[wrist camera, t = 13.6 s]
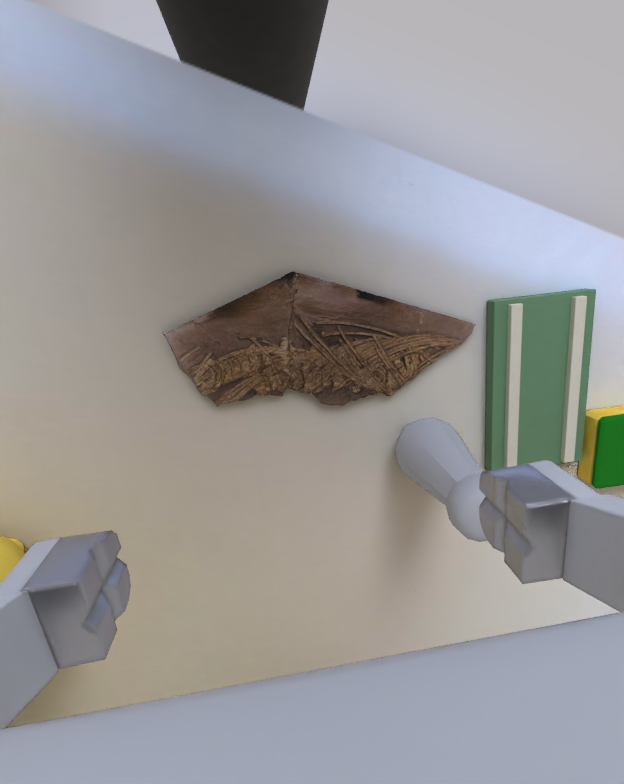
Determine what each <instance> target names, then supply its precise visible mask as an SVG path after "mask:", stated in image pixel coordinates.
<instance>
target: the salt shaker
mask: <svg viewBox="0 0 624 784" xmlns="http://www.w3.org/2000/svg"><path fill="white" fill-rule="evenodd" d="M395 453H396V457H397V460H398V463H399V466H400V469H401V470H402V471H403V472H404V473H405V474H406V475H407V476H408V477H409V478H411V479H412V480H413V481H415V482H416V483H417V484H418V485H420V486H421V487H422V488H424V489H425V490H426V491H428V492H429V493H430V494H431V495H433V496H434V497H435V498H437V499H438V500H439V501H441V502H442V503H443V504H444V505H446V509H447V512H448V516H449V519H450V521H451V523H452V524H453V526H454V527H455V528H456V529H457V530H459V531H460V532H461V533H462V534H463V535H464V536H465V537H466V538H467V539H471V540H475V541H479V542H481V541H488V540H487V539H486V537H485V535H484V533H483V530H482V527H481V523H480V519H479V506H480V504H481V503H482V501H483V500H484V498H485V497H486V496H485V495H484V494H483V493H482V492H481V490H480V489H479V480H480V476H481V473H482V472H483V471H482V470H481V468H480V466H479V465H478V463H477V462H476V460H475V458H474V457H473V455H472V454H471V452H470V451H469V449H468V447H467V446H466V444H465V443H464V441H463V440H462V438H461V436H460V435H459V433H458V432H457V431H456V430H455V429H454V428H453V427H452V426H451V425H450V424H449V423H447V422H444V421H441V420H438V419H435V418H426V419H421V420H418V421H415V422H413V423H410V424H407V425H405V426H404V428H403V430H402V433H401V435H400V437H399V438H398V442H397V446H396V452H395Z"/></svg>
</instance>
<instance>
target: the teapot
mask: <svg viewBox="0 0 624 784" xmlns="http://www.w3.org/2000/svg"><path fill="white" fill-rule="evenodd" d="M24 555H25V553H24V545H23V544H22V543H21V542H20V541H19V540H17V539H15V538H6V537H3V536H0V583H1V582H2V581H3V580H4V579H5V577H6V576H7V575H8V574H9V573H10V571H11V570H12V569H13V568H14V567H15V565H16V564H17V563H18V562H19V561H20V559H21V558H22V557H23V556H24Z"/></svg>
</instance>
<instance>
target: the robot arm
mask: <svg viewBox="0 0 624 784" xmlns="http://www.w3.org/2000/svg"><path fill="white" fill-rule="evenodd" d="M479 489H480V490H481V492H482V493H483V494H484V495H485V496H486V497H485V498H484V500H483V501H482V503H481V504H480V506H479V519H480V523H481V527H482V530H483V533H484V535H485V537H486V539H487V540H488V542H489V543H490V544H491V546H492V547H493V548H495V549H497V550H499V551H501V552H504V553H505V558H504V562H505V563H506V564H507V565H508V567H509V568H510V569H511V570H512V572H513V573H514V574H515V575H516V576H517V578H518V579H519V580H520V581H521V583H522V584H526V583H532V582H539V581H546V580H552V579H559V578H563V580H564V581H566V582H568V583H570V584H571V585H573V586H575V587H577V588H578V589H580V590H582V591H584V592H586V593H587V594H589V595H591V596H593V597H594V598H596V599H598V600H600V601H602V602H603V603H605V604H607V605H609V606H610V607H612V608H614V609H616V610H618V611H619V612H620V613H615V614H610V615H604V616H599V617H594V618H588V619H583V620H578V621H572V622H567V623H562V624H556V625H551V626H546V627H540V628H535V629H530V630H524V631H519V632H514V633H509V634H503V635H498V636H493V637H487V638H482V639H477V640H471V641H466V642H461V643H455V644H450V645H445V646H439V647H434V648H429V649H423V650H418V651H413V652H408V653H402V654H397V655H392V656H386V657H381V658H376V659H371V660H366V661H360V662H355V663H350V664H345V665H339V666H334V667H329V668H324V669H318V670H313V671H308V672H303V673H297V674H292V675H287V676H281V677H276V678H271V679H265V680H260V681H255V682H249V683H244V684H239V685H234V686H228V687H223V688H218V689H212V690H207V691H202V692H196V693H191V694H186V695H180V696H175V697H170V698H164V699H159V700H154V701H149V702H143V703H138V704H133V705H127V706H122V707H117V708H111V709H106V710H101V711H95V712H90V713H85V714H80V715H74V716H69V717H64V718H58V719H53V720H48V721H42V722H37V723H32V724H26V725H21V726H16V727H11V728H6V727H7V725H8V724H9V723H10V722H11V721H12V720H13V719H14V718H15V717H16V716H17V715H18V714H19V713H20V712H21V711H22V710H23V709H24V708H25V707H26V705H27V704H28V703H29V702H30V701H31V700H32V699H33V698H34V697H35V696H36V695H37V694H38V693H39V692H40V691H41V690H42V689H43V688H44V687H45V685H46V684H47V683H48V682H49V681H50V680H51V679H52V678H53V677H54V676H55V675H56V674H57V673H58V672H59V670H58V669H61V668H66V667H71V666H75V665H80V664H85V663H90V662H94V661H99V660H104V659H106V656H107V654H108V651H109V649H110V646H111V644H112V641H113V639H114V636H115V634H116V632H117V627H116V624H115V620H116V619H117V618H118V617H119V616H120V615H121V614H122V613H123V612H125V609H126V606H127V604H128V601H129V595H130V586H131V585H130V575H129V571H128V568H127V564H125V563H124V562H123V561H121V560H120V559H119V558H117V555H118V553H119V551H120V549H121V545H120V542H119V539H118V536H117V534H116V533H115V532H113V531H112V530H111V531H104V532H97V533H90V534H82V535H75V536H68V537H64V538H63V537H59V538H54V539H48V540H42V541H39V542H36V543H34V544H33V545H32V546H31V548H30V549H29V550H28V551H27V552H26V553H25V555H24V556H23V557H22V558H21V559H20V561H19V562H18V563H17V564H16V565H15V567H14V568H13V569H12V570H11V571H10V573H9V574H8V575H7V576H6V577H5V579H4V580H3V581H2V582H1V583H0V784H624V498H622V497H618V496H615V495H611V494H603V495H601V494H599V493H598V492H596V491H595V490H593V489H592V488H590V487H589V486H587V485H586V484H584V483H583V482H581V481H580V480H578V479H577V478H576V477H574V476H573V475H571V474H570V473H568V472H567V471H565V470H564V469H562V468H561V467H559V466H558V465H556V464H555V463H553V462H552V461H548V460H543V461H538V462H533V463H528V464H523V465H517V466H512V467H507V468H501V469H496V470H491V471H486V472H482V473H481V476H480V480H479Z"/></svg>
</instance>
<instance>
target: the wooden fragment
mask: <svg viewBox="0 0 624 784" xmlns="http://www.w3.org/2000/svg"><path fill="white" fill-rule="evenodd" d="M297 274H298V277H297V282H295V277H296V276H295V275H296V272H290V273H288V274H286V275H285V276H283V277H281V278H280V279H277V280H275V281H273V282H271V283H269V284H267V285H266V286H263V287H261V288H259V289H256V290H254V291H252V292H250V293H249V294H247V295H244V296H242V297H241V298H238V299H236V300H234V301H232V302H230V303H228V304H226V305H224V306H222V307H219V308H217V309H215V310H214V311H211V312H209V313H207V314H205V315H203V316H200V317H198V318H197V319H195V320H192V321H190V322H189V323H186V324H184V325H182V326H180V327H178V328H177V329H175V330H172V331H170V332H168V333H166V334H164V336H165V337H166V339H167V341H168V343H169V345H170V347H171V349H172V351H173V353H174V355H175V357H176V360H177V362H178V365H179V367H180V368H181V369H182V370H183V371H184V372H185V373H187V374H188V375H190V376H191V377H192V379H193V381H194V383H195V384H196V386H197V389H198V391H199V392H200V393H201V394H202V395H204V396H209V398H210V399H211V400H212V401H213V402H214V404H216V406H219V405H220V404H221V403H230V402H231V401H232V402H233V401H236V400H239V401H240V400H246V399H249V398H252V397H253V396H254V395H255V394H259V395H262V394H263V395H264V396H266V395H277V396H282V395H283V392H284V390H285V388H286V387H288V388H291V389H295V390H297V391H299V392H301V393H311V392H312V393H313V394H314V395H315V396H316V398H317V399H318V400H319V401H320V402H321V403H322V404H327V405H340V406H344V405H345V404H346V403H348V402H350V401H354V400H357V399H359V398H364V397H366V396H367V395H374V394H377V393H383V394H385V395H387V396H391V395H392V394H393V393H394V392H395V391H396V390H397V389H399V388H400V387H401V386H402V385H404V384H405V383H406V382H408V381H410V380H412V379H413V378H414V377H415V376H416V375H417V374H418V373H419V372H420V371H421V370H422V369H423V368H425V367H426V366H428V365H430V364H431V363H432V362H434V361H435V360H436V359H437V358H438V357H439V356H440V355H442V354H443V353H444V352H446V350H449V349H452V348H454V347H455V346H456V345H459V344H461V343H462V342H463V341H464V340H465V339H466V338H467V337H468V336H469V335H470V334H471V333H472V331H473V329H474V327H475V325H476V324H472V323H469V322H466V321H463V320H459V319H456V318H452V317H449V316H446V315H442V314H439V313H435V312H431V311H429V310H425V309H421V308H418V307H415V306H411V305H407V304H404V303H401V302H397V301H394V300H391V299H388V298H384V297H381V296H376V295H373V294H370V293H367V292H364V291H360V290H357V289H353V288H350V287H346V286H344V285H339V284H336V283H333V282H327V281H323V280H320V279H318V278H315V277H311V276H308V275H304V274H300V273H297ZM319 280H320V281H319ZM162 333H163V332H162Z"/></svg>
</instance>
